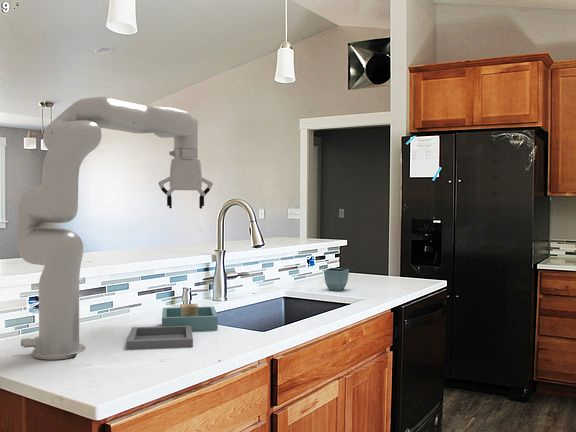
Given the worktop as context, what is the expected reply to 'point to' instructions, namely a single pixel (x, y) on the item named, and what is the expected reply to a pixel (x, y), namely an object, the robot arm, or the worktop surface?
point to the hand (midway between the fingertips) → (185, 208)
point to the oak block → (189, 310)
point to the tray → (191, 318)
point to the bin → (160, 337)
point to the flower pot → (336, 278)
